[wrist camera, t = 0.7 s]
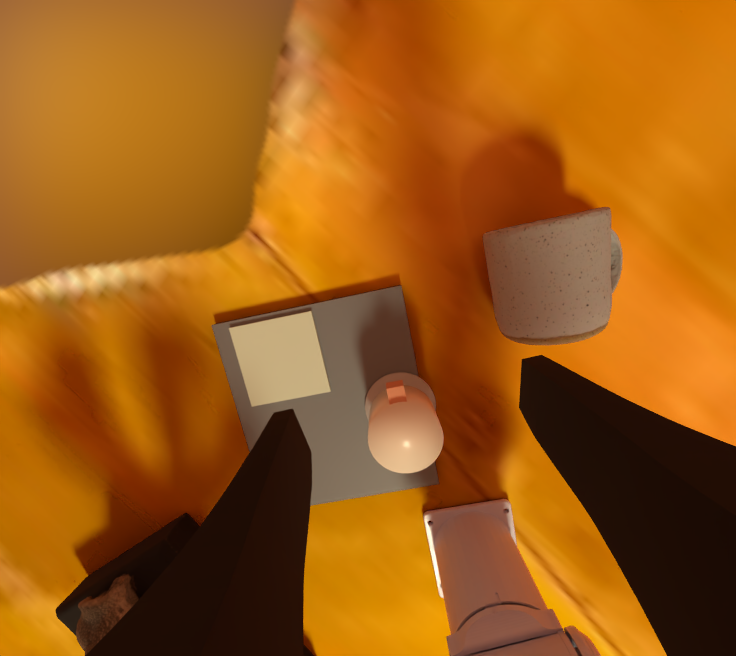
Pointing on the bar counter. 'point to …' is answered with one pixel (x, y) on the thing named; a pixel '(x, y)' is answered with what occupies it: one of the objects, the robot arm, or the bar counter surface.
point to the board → (326, 383)
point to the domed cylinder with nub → (404, 429)
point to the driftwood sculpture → (124, 583)
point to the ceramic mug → (554, 277)
